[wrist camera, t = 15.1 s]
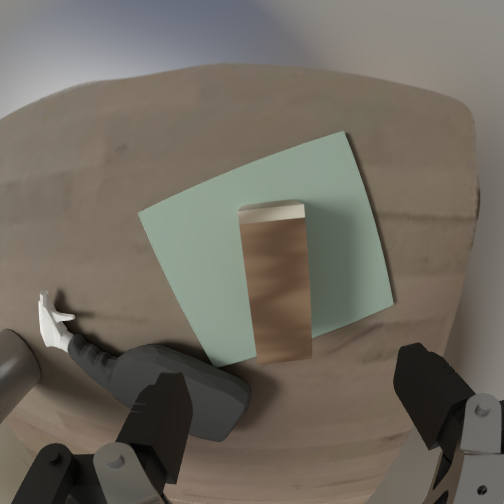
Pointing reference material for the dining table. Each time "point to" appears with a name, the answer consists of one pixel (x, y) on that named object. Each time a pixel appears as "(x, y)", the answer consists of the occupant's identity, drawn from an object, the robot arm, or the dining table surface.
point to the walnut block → (277, 279)
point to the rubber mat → (231, 255)
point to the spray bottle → (153, 375)
